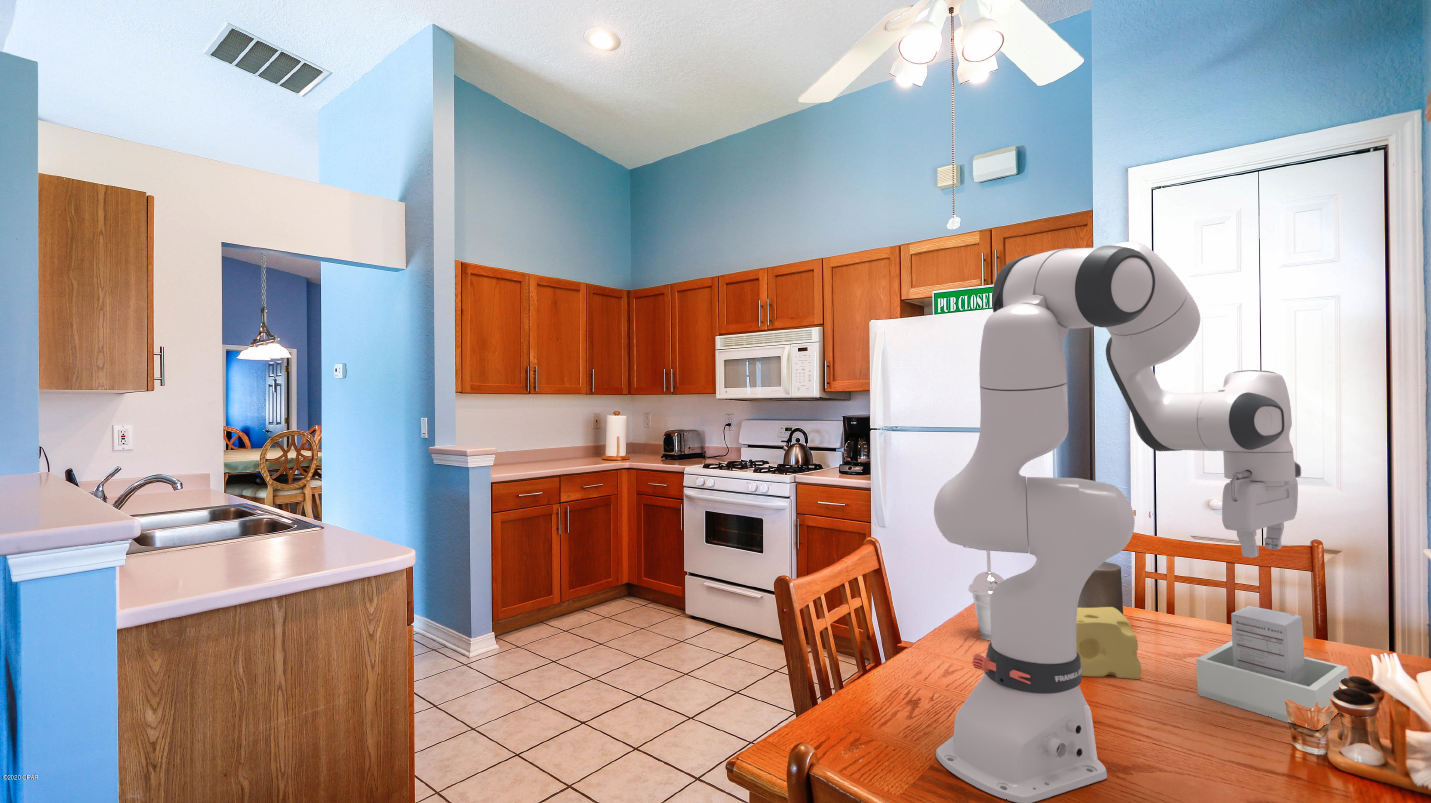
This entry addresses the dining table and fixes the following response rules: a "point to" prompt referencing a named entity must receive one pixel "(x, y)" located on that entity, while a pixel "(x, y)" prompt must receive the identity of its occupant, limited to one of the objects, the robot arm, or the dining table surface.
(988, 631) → the cup with straw
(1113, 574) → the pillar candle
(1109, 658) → the cheese
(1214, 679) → the box
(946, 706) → the dining table surface
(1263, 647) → the supplement box
